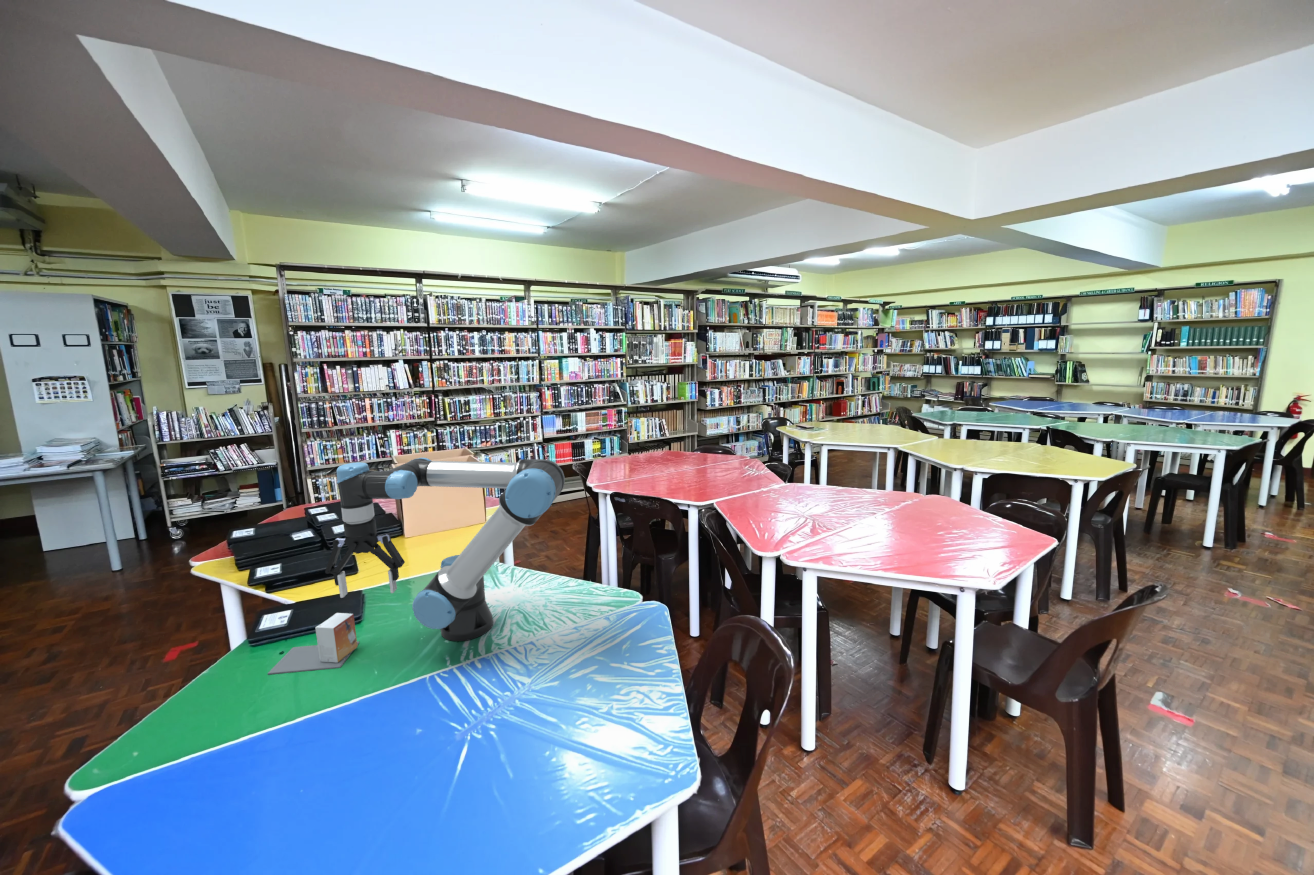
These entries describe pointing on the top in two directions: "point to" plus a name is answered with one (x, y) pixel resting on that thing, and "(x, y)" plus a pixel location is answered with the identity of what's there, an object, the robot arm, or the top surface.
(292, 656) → the mat
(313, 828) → the top surface
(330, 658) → the small box
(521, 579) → the top surface
